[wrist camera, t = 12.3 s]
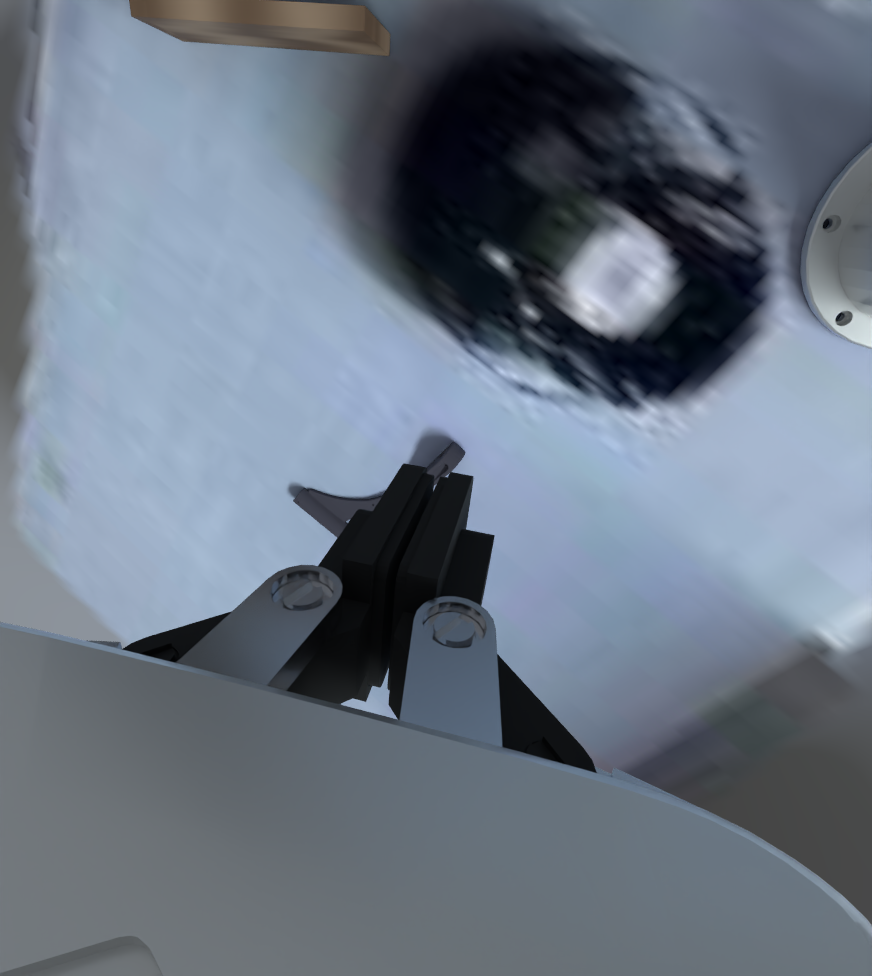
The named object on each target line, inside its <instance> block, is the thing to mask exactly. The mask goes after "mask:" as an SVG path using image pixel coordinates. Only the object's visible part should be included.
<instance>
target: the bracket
mask: <svg viewBox="0 0 872 976" xmlns="http://www.w3.org/2000/svg"><path fill="white" fill-rule="evenodd" d="M464 455H465V451H464V450H463V449H462V448H460V447H459V446H458V445H457V444H456V443H455V442H452V443H451V444H450V445H449V446H448V447H447V448H446V449H445V450H444V451H443V452H442V453H441V454H440V455H439V456H438V457H437V458H436V459H435V460H434V461H433V462H432V463H431V464H430V465H429V466H428V467H427V474H431V475H434V485H436V484H437V483H438V480H439V478H440V477H445V476H446V475H448V474H449V473H450V472H451V471H452V470H453V469H454V468H455V467H456V466H457V465H458V463H459V462H460V461H461V460H462V458H463V457H464ZM381 498H382V496H381V497H377V498H372V499H347V498H340V497H336V496H332V495H328V494H325V493H322V492H319V491H316V490H314V489H310V490H309V491H308V490H307V489H306V488H304V489H303V490H302V491H301V492H300V493H299V494H298V495H297V497H296V498H295V499H294V500H293V502H295V503H296V504H297V505H298V506H300V507H301V508H302V509H303V510H304V511H306V512H307V513H308V514H309V515H311V516H312V517H313V518H314V519H315V520H317V521H318V522H319V523H320V524H321V525H323V526H324V527H325V528H326V529H328V530H329V531H330V532H331V533H332V534H334V535H335V536H336V537H337V538H338V537H339V535H340V534H341V533H342V531H343V530H344V528H345V527H346V525H347V524H348V523H346V521H347V520H349V519H351V518H352V517H353V515H354V514H355V512H356V511H357V510H358V509H365V510H370V511H373V510H374V509H375V507H376V505H377V504H378V502H379V501H380V499H381Z"/></svg>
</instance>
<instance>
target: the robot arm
mask: <svg viewBox="0 0 872 976" xmlns="http://www.w3.org/2000/svg"><path fill="white" fill-rule="evenodd" d="M826 219H828V220H829V225H828V226H827V227H826V228H825V229H824V228H822V227H823V222H824V221H825V220H826ZM800 274H801V280H802V287H803V292H804V295H805V297H806V300H807V302H808V304H809V307H810V309H811V310H812V312H813V313H814V314H815V316H816V317H817V318H818V320H819V321H820V322H821V324H823V325H824V326H825V327H826V328H828V329H829V330H830V331H831V332H833V333H834V334H835V335H837V336H839V337H841V338H843V339H845V340H847V341H849V342H852V343H854V344H857V345H860V346H863V347H866V348H869V349H872V142H871V143H870V144H869V145H868V146H867V147H865V148H864V149H863V150H862V151H861V152H860V153H859V154H857V155H856V156H855V157H854V158H853V159H852V160H851V161H850V162H849V163H848V165H847V166H846V167H845V168H844V169H843V170H842V172H841V173H840V174H839V175H838V176H837V177H836V178H835V180H834V181H833V182H832V184H831V185H830V187H829V188H828V190H827V191H826V193H825V194H824V196H823V198H822V199H821V201H820V202H819V204H818V206H817V208H816V210H815V212H814V215H813V217H812V219H811V221H810V223H809V226H808V228H807V232H806V236H805V239H804V243H803V247H802V252H801V268H800ZM839 313H841V317H840V318H839V319H838V320H836V317H837V315H838V314H839ZM472 485H473V476H469V475H463V474H458V473H453V472H450V474H449V476H448V478H447V477H440V478H439V480H438V483H437V485H436V487H435V489H434V491H433V487H434V475H431V474H427V468H425V467H420V466H415V465H409V464H403V465H402V466H401V468H400V469H399V471H398V473H397V474H396V476H395V477H394V479H393V480H392V482H391V484H390V485H389V487H388V488H387V490H386V491H385V493H384V494H383V496H382V498H381V499H380V501H379V502H378V504H377V505H376V507H375V509H374V510H373V511H370V510H365V509H358V510H357V511H356V512H355V514H354V515H353V517H352V518H351V520H350V521H349V523H348V524H347V525H346V527H345V528H344V530H343V531H342V533H341V534H340V535H339V537H338V538H337V540H336V541H335V543H334V544H333V545H332V547H331V548H330V550H329V551H328V553H327V554H326V555H325V557H324V558H323V560H322V561H321V563H320V564H319V566H314V565H299V566H294V567H289V568H286V569H283V570H281V571H278V572H277V573H275V574H274V575H272V576H271V577H270V578H268V579H267V580H266V581H265V582H264V583H263V584H262V585H261V586H260V587H259V588H257V589H256V590H255V591H254V592H253V593H252V594H251V595H250V596H249V597H248V598H246V599H245V600H244V601H243V602H242V603H241V604H240V605H239V606H238V607H237V608H235V609H234V610H233V611H232V612H229V613H225V614H222V615H219V616H215V617H212V618H209V619H205V620H202V621H199V622H195V623H192V624H189V625H186V626H182V627H179V628H176V629H172V630H169V631H166V632H162V633H159V634H156V635H152V636H149V637H146V638H143V639H141V640H138V641H136V642H134V643H131V644H130V645H128V646H127V647H125V648H123V649H122V647H121V643H120V642H107V641H85V640H80V639H76V638H72V637H68V636H63V635H59V634H55V633H51V632H46V631H41V630H37V629H32V628H27V627H22V626H17V625H12V624H8V623H3V622H0V976H872V925H871V924H870V923H869V922H868V920H867V919H866V918H865V917H864V916H863V915H862V914H861V913H860V912H859V911H858V910H857V909H856V908H855V907H854V906H853V905H852V904H851V903H850V902H849V901H848V900H846V898H845V897H843V896H842V895H841V894H840V893H839V892H837V891H836V890H835V889H834V888H832V887H831V886H830V885H829V884H827V883H826V882H825V881H824V880H822V879H821V878H820V877H819V876H817V875H816V874H815V873H813V872H812V871H810V870H809V869H808V868H806V867H805V866H803V865H802V864H801V863H799V862H798V861H797V860H795V859H794V858H792V857H790V856H788V855H787V854H785V853H784V852H782V851H780V850H779V849H777V848H775V847H774V846H772V845H771V844H769V843H767V842H766V841H764V840H763V839H761V838H759V837H758V836H756V835H754V834H753V833H751V832H749V831H747V830H745V829H743V828H741V827H739V826H737V825H735V824H733V823H731V822H729V821H727V820H725V819H723V818H721V817H719V816H717V815H715V814H713V813H711V812H709V811H707V810H704V809H702V808H699V807H697V806H695V805H692V804H690V803H688V802H686V801H684V800H682V799H680V798H678V797H675V796H673V795H671V794H669V793H667V792H665V791H663V790H661V789H658V788H656V787H654V786H652V785H650V784H648V783H646V782H643V781H641V780H639V779H637V778H635V777H633V776H631V775H629V774H626V773H624V772H622V771H620V770H618V769H616V768H614V770H613V772H612V774H610V773H607V772H605V771H603V770H601V769H599V768H597V767H595V766H594V764H593V761H592V759H591V758H590V757H589V755H588V754H587V752H586V751H585V750H584V748H583V747H582V746H581V745H580V744H579V743H578V741H577V740H576V739H575V738H574V737H573V736H572V735H571V734H570V733H569V732H568V731H567V729H566V728H565V727H564V726H563V725H562V724H561V723H560V722H559V721H558V720H557V719H556V717H555V716H554V715H553V714H552V713H551V712H550V711H549V710H548V709H547V708H546V707H545V705H544V704H543V703H542V702H541V701H540V700H539V699H538V698H537V697H536V696H535V695H534V694H533V692H532V691H531V690H530V689H529V688H528V687H527V686H526V685H525V684H524V683H523V682H522V680H521V679H520V678H519V677H518V676H517V675H516V674H515V673H514V672H513V671H512V670H511V668H510V667H509V666H508V665H507V664H506V663H505V662H504V661H503V660H502V659H501V658H500V656H499V655H498V654H497V643H496V628H495V624H494V621H493V618H492V617H491V616H490V614H489V613H488V611H487V610H485V609H484V608H483V607H481V605H482V600H483V595H484V589H485V584H486V579H487V574H488V569H489V563H490V558H491V552H492V547H493V541H494V536H495V535H490V534H485V533H480V532H475V531H470V530H466V525H467V519H468V512H469V505H470V499H471V492H472ZM388 668H389V674H388V690H390V693H389V706H390V707H391V709H392V711H393V712H394V714H395V715H396V717H397V719H398V720H397V719H393V718H389V717H386V716H382V715H378V714H374V713H370V712H366V711H362V710H358V709H355V708H351V707H347V706H343V705H341V703H343V702H345V701H347V700H350V699H352V698H354V699H358V700H362V701H365V702H366V700H367V698H368V695H369V693H370V690H371V688H372V686H376V687H381V685H382V683H383V681H384V678H385V676H386V673H387V670H388Z"/></svg>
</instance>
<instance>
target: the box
mask: <svg viewBox="0 0 872 976" xmlns="http://www.w3.org/2000/svg"><path fill="white" fill-rule="evenodd" d="M129 2H130V9H131V16H132V17H134V18H136V19H138V20H140V21H142V22H144V23H146V24H148V25H150V26H153V27H155V28H157V29H159V30H161V31H163V32H165V33H167V34H169V35H171V36H173V37H175V38H178V39H180V40H182V41H186V42H200V43H214V44H228V45H242V46H256V47H270V48H284V49H298V50H312V51H326V52H341V53H355V54H369V55H383V56H389V52H390V33H389V32H388V31H387V30H386V29H385V28H384V27H383V25H382V24H381V23H380V22H379V21H378V20H377V19H376V18H375V16H374V15H373V14H372V13H371V12H370V11H369V10H368V9H367V8H366V6H360V5H342V4H325V3H308V2H290V1H273V0H129Z"/></svg>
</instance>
